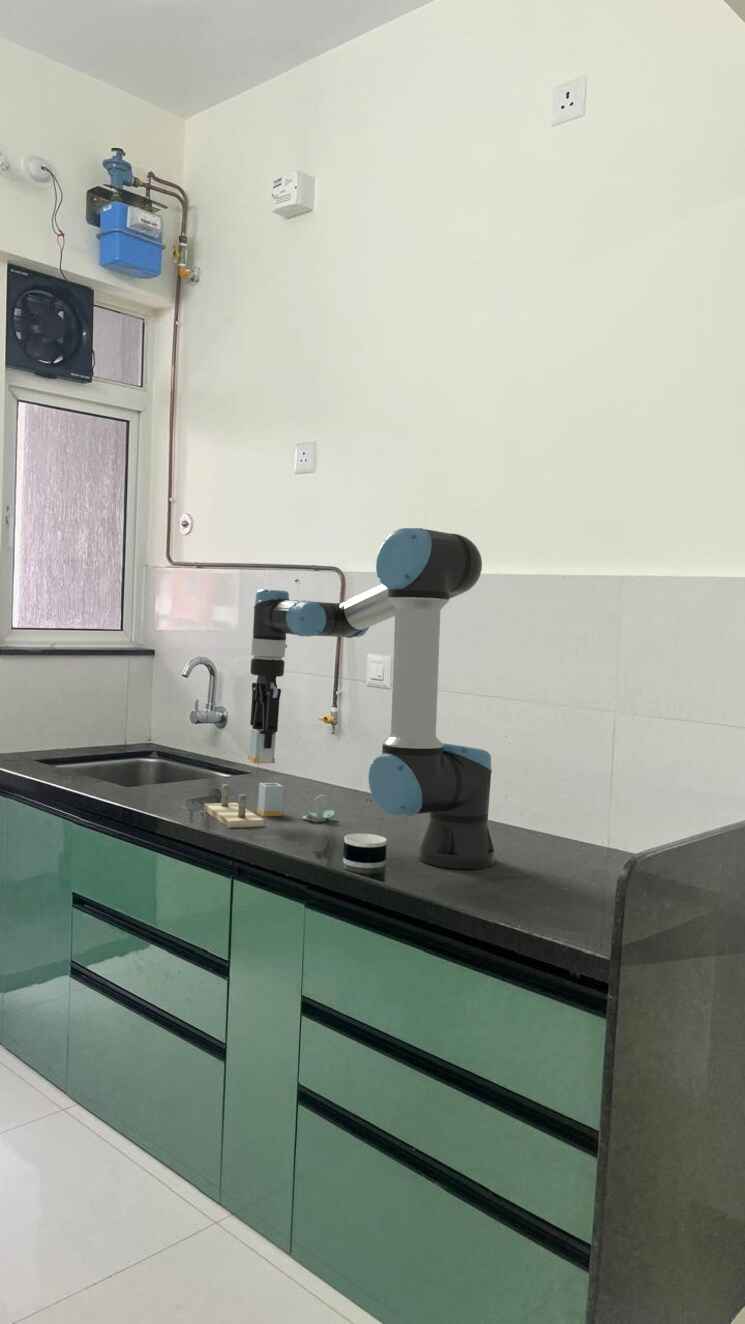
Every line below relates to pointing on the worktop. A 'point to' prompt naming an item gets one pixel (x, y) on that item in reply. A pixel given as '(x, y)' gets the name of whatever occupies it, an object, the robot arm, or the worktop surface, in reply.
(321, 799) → the pacifier
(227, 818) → the pin board
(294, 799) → the worktop surface
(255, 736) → the sleeve
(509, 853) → the worktop surface
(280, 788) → the sleeve
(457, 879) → the worktop surface
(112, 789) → the worktop surface
